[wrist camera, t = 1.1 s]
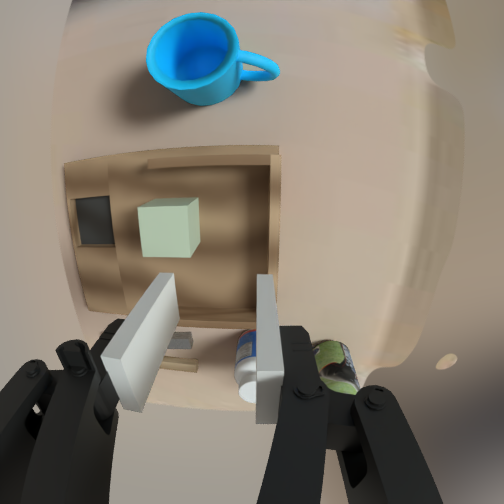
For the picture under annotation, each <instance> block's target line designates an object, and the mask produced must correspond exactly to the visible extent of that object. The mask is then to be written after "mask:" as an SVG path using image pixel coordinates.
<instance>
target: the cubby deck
mask: <svg viewBox="0 0 504 504" xmlns="http://www.w3.org/2000/svg"><path fill="white" fill-rule="evenodd" d="M64 171H65V185H66V196H67V206H68V214H69V221H70V228H71V234H72V240H73V246H74V251H75V256H76V261H77V266H78V271H79V275H80V279H81V283H82V287H83V291H84V295H85V299H86V302H87V306H88V309H89V311H95V312H103V313H112V314H121V315H129V314H130V312H131V311H132V309H133V308H134V307H135V305H136V304H137V302H138V301H139V300H140V298H141V297H142V296H143V294H144V293H145V291H146V290H147V289H148V287H149V286H150V285H151V283H152V282H153V281H154V279H155V278H156V277H157V275H158V274H159V273H174V280H175V288H176V296H177V303H178V310H179V317H180V319H179V322H178V324H177V326H181V327H199V328H222V329H256V307H257V274H273V281H274V289H275V297H276V305H277V285H278V262H279V235H280V201H281V155H279V146H273V145H225V146H199V147H182V148H169V149H157V150H147V151H138V152H130V153H122V154H115V155H108V156H102V157H96V158H90V159H84V160H79V161H74V162H69V163H64ZM190 197H198V200H199V224H200V243H199V245H198V246H197V248H196V250H195V251H194V253H193V254H192V256H191V258H181V257H143V254H142V246H141V238H140V229H139V219H138V208H137V207H139V206H141V205H143V204H145V203H147V202H150V201H152V200H154V199H162V198H190Z"/></svg>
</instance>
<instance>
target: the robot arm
mask: <svg viewBox="0 0 504 504" xmlns="http://www.w3.org/2000/svg"><path fill="white" fill-rule="evenodd" d="M179 319H180V317H179V310H178V303H177V296H176V288H175V280H174V273H159V274H158V275H157V277H156V278H155V279H154V281H153V282H152V283H151V285H150V286H149V287H148V289H147V290H146V291H145V293H144V294H143V296H142V297H141V298H140V300H139V301H138V302H137V304H136V305H135V307H134V308H133V309H132V311H131V312H130V314H129V315H128V316H127V318H126V319H117V320H115V321H114V322H112V323H111V324H109V325H108V327H107V328H106V329H105V331H104V333H102V335H101V336H100V337H99V339H98V340H97V341H96V343H95V344H94V346H93V347H92V348H91V350H89V347H88V345H87V343H86V342H84V341H82V340H77V339H76V340H70V341H67V342H64V343H63V344H61V345H59V346H58V348H57V349H56V353H57V355H58V357H59V359H60V361H61V363H62V365H63V367H64V370H48V368H47V366H46V364H45V362H43V361H42V360H37V359H36V360H30V361H28V362H26V363H25V364H24V365H23V366H22V367H21V368H20V369H19V370H18V371H17V372H16V374H15V375H14V376H13V377H12V378H11V379H10V381H9V382H8V383H7V384H6V385H5V387H4V388H3V389H2V390H1V391H0V504H109V492H110V480H111V469H112V460H113V452H114V445H115V437H116V431H117V424H118V418H119V416H118V411H117V409H116V406H117V403H118V401H119V400H120V402H121V404H122V406H123V408H124V409H126V410H131V411H136V412H142V410H143V408H144V405H145V403H146V400H147V398H148V395H149V393H150V390H151V387H152V385H153V382H154V380H155V377H156V375H157V372H158V370H159V367H160V365H161V362H162V360H163V358H164V355H165V353H166V350H167V348H168V345H169V343H170V341H171V338H172V336H173V333H174V331H175V329H176V326H177V324H178V322H179ZM35 404H36V405H37V406H38V408H39V409H40V412H39V413H35V412H34V410H33V409H32V408H33V407H34V405H35ZM256 424H277V425H276V429H275V434H274V438H273V442H272V447H271V451H270V455H269V459H268V463H267V467H266V471H265V474H264V478H263V482H262V486H261V489H260V493H259V496H258V500H257V504H320V499H321V492H322V484H323V475H324V464H325V454H326V449H331V450H336V452H337V456H338V460H339V464H340V468H341V473H342V476H343V481H344V485H345V489H346V493H347V498H348V502H349V504H443V502H442V499H441V497H440V494H439V492H438V489H437V487H436V484H435V482H434V479H433V477H432V475H431V473H430V470H429V468H428V466H427V463H426V461H425V459H424V456H423V454H422V452H421V450H420V448H419V445H418V443H417V441H416V439H415V437H414V435H413V433H412V431H411V428H410V426H409V424H408V422H407V420H406V418H405V416H404V414H403V412H402V410H401V408H400V406H399V404H398V402H397V400H396V398H395V396H394V395H393V394H392V393H391V391H389V390H388V389H386V388H384V387H381V386H377V385H372V386H366V387H363V388H361V389H360V390H359V391H358V392H357V393H356V395H354V394H347V393H340V392H336V391H334V390H331V389H329V388H328V387H327V385H326V384H325V383H324V382H323V381H322V380H321V379H320V376H319V372H318V368H317V364H316V360H315V356H314V352H313V348H312V344H311V341H310V337H309V333H308V332H307V331H306V330H305V329H304V328H303V327H302V326H279V321H278V313H277V305H276V297H275V289H274V281H273V274H257V307H256Z"/></svg>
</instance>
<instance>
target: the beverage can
mask: <svg viewBox="0 0 504 504" xmlns="http://www.w3.org/2000/svg"><path fill="white" fill-rule="evenodd" d="M313 352H314V356H315V360H316V364H317V368H318V372H319V376H320V379H321V380H322V381H323V382H324V383H325V384H326V385H327V387H328V388H329V389H331V390H334V391H336V392H340V393H347V394H354V395H356V393H357V392H358V391H359V390H360V386H359V382H358V379H357V375H356V372H355V369H354V365H353V362H352V359H351V355H350V352H349V350H348V348H347V347H346V345H344V344H343V343H341V342H338V341H326V342H323V343H321V344H319V345H318V346H316V347H315V348H314V349H313Z"/></svg>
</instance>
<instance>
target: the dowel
mask: <svg viewBox="0 0 504 504" xmlns="http://www.w3.org/2000/svg"><path fill="white" fill-rule="evenodd" d="M159 368H161V369H169V370H177V371H186V372H195V373H197V370H198V361H197V360H196V359H186V358H176V357H168V356H164V358H163V360H162V362H161V365H160V367H159Z"/></svg>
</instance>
